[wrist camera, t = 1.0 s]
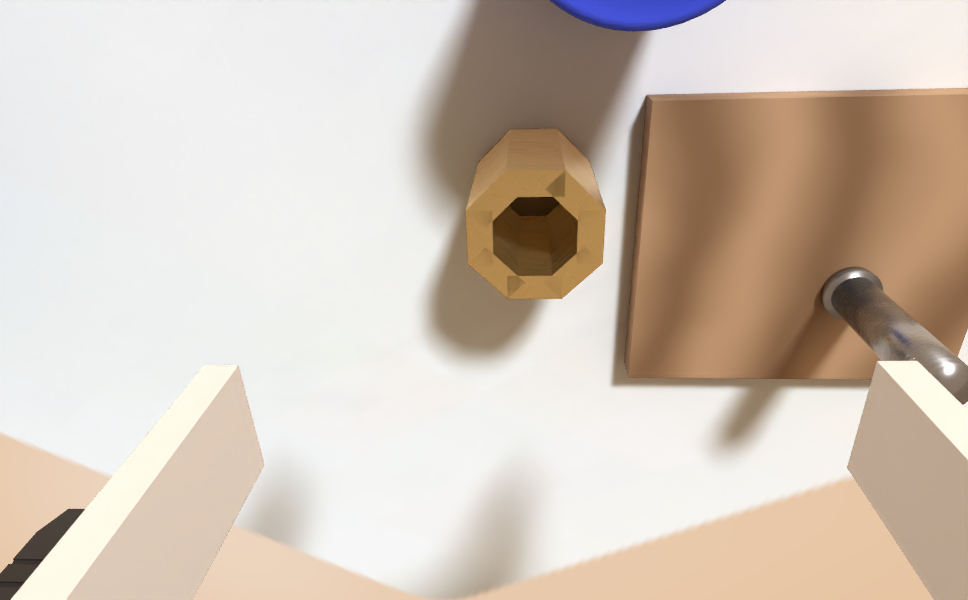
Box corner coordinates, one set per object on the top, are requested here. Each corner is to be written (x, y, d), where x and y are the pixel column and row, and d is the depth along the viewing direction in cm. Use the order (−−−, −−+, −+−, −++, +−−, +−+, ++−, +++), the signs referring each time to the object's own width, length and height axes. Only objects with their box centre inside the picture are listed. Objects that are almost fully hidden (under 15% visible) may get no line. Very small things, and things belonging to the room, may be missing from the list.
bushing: (480, 235, 32) (469, 298, 25) (477, 129, 29) (463, 171, 23) (585, 234, 31) (600, 298, 25) (590, 127, 29) (608, 169, 23)
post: (814, 315, 31) (901, 417, 24) (826, 266, 30) (921, 358, 22) (870, 315, 31) (974, 418, 23) (884, 266, 29) (998, 358, 22)
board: (624, 361, 34) (628, 377, 33) (646, 94, 28) (652, 100, 27) (932, 364, 33) (948, 380, 32) (1027, 86, 27) (1053, 92, 26)
